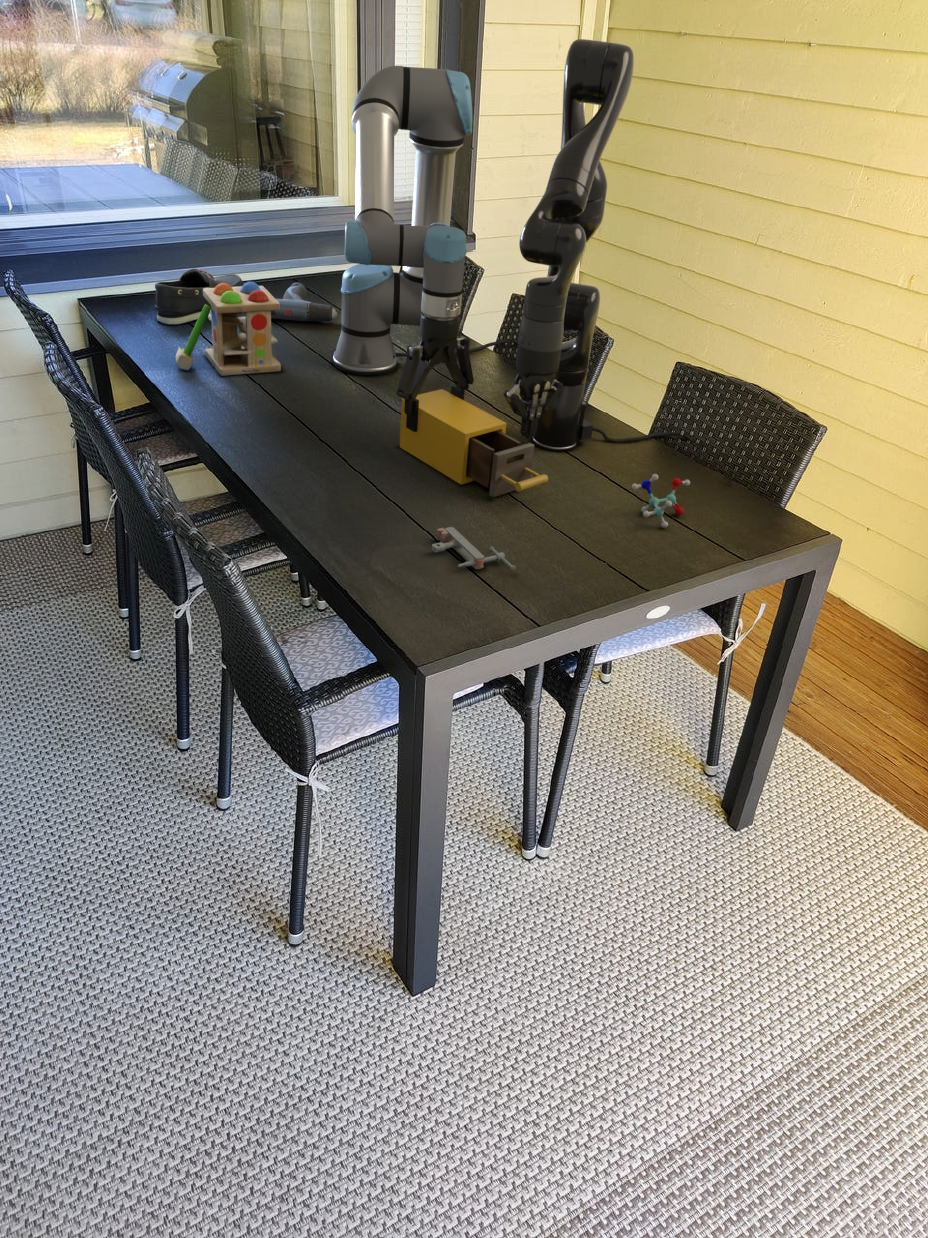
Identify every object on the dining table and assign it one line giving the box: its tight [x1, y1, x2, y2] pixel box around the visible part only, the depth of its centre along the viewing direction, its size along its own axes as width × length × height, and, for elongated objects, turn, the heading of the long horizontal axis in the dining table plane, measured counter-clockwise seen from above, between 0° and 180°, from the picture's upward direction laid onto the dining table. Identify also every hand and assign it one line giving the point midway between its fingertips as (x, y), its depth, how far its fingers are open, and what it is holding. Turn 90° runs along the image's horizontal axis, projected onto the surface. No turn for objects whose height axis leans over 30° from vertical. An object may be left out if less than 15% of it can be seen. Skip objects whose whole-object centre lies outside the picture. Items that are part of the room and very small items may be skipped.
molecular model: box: [631, 473, 691, 529], centre depth 183 cm, size 12×10×10 cm
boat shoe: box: [154, 268, 245, 325], centre depth 260 cm, size 13×33×10 cm, turn 147°
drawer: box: [466, 430, 549, 498], centre depth 188 cm, size 24×9×8 cm, turn 40°
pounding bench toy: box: [174, 281, 282, 377], centre depth 225 cm, size 23×14×18 cm, turn 116°
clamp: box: [431, 526, 517, 572], centre depth 165 cm, size 15×2×10 cm
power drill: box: [271, 282, 338, 322], centre depth 265 cm, size 5×19×20 cm
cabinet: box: [399, 388, 507, 486], centre depth 195 cm, size 20×10×10 cm, turn 40°
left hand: (433, 423), depth 198 cm, fingers closed on cabinet, 10 cm apart
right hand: (527, 435), depth 178 cm, fingers closed
